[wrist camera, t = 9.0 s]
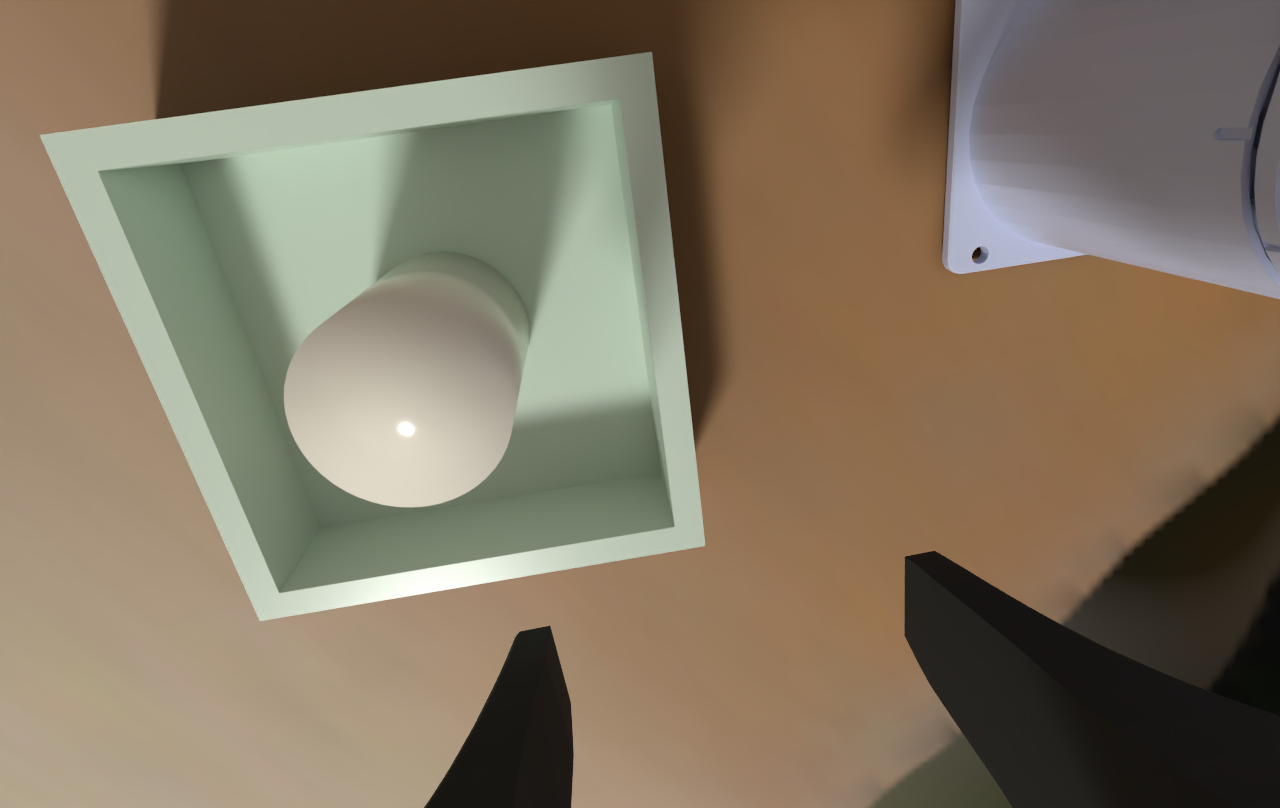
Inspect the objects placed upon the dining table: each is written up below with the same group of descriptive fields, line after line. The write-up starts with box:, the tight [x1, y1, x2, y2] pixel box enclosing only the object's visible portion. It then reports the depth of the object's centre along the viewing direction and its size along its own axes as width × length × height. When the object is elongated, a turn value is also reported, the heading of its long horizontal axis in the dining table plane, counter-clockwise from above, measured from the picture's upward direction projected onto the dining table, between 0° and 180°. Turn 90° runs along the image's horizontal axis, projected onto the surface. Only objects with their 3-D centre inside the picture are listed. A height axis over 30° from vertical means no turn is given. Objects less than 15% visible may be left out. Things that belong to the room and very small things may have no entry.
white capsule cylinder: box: [284, 252, 529, 507], centre depth 16 cm, size 4×4×6 cm
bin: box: [40, 52, 705, 621], centre depth 18 cm, size 13×13×4 cm
